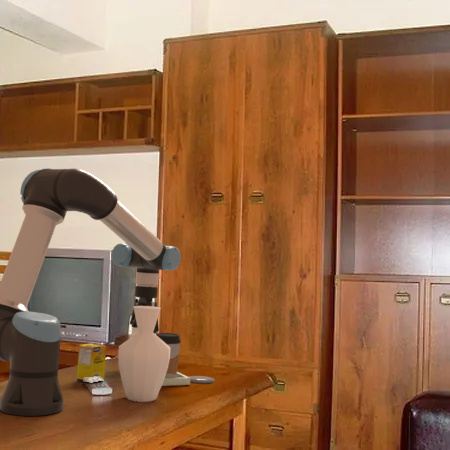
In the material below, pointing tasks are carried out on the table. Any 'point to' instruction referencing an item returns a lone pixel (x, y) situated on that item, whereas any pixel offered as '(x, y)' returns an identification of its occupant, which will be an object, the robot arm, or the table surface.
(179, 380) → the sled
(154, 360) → the vase
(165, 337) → the coffee cup
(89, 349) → the supplement box
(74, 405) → the table surface
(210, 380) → the coaster
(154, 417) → the table surface
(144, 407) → the table surface
